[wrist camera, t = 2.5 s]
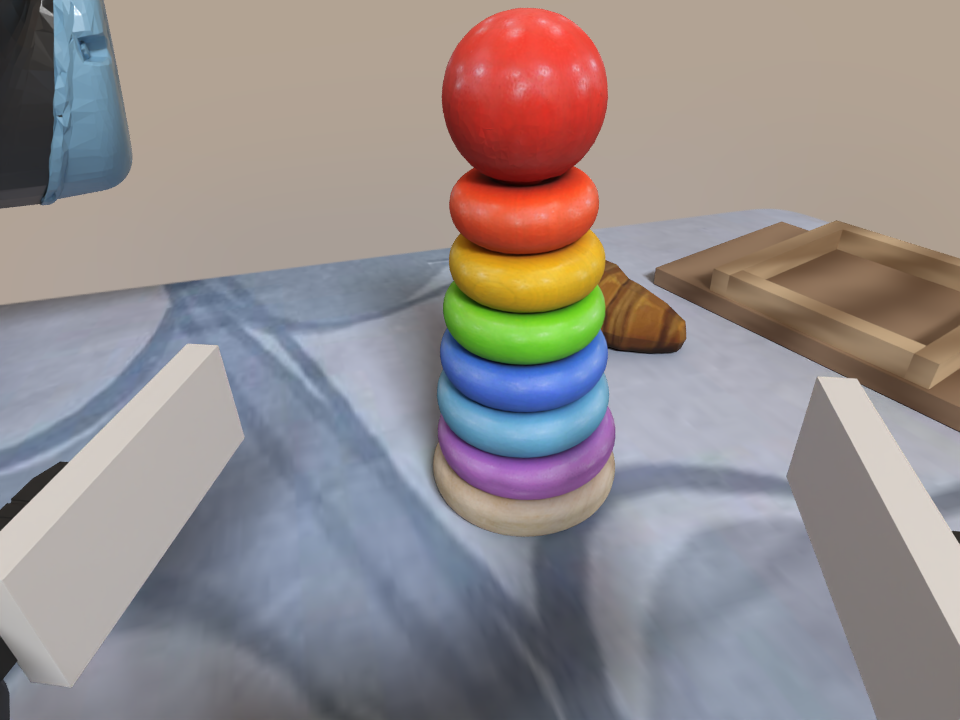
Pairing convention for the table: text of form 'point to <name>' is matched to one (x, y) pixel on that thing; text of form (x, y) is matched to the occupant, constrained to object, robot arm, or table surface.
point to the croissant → (637, 316)
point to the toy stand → (841, 305)
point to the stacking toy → (524, 281)
